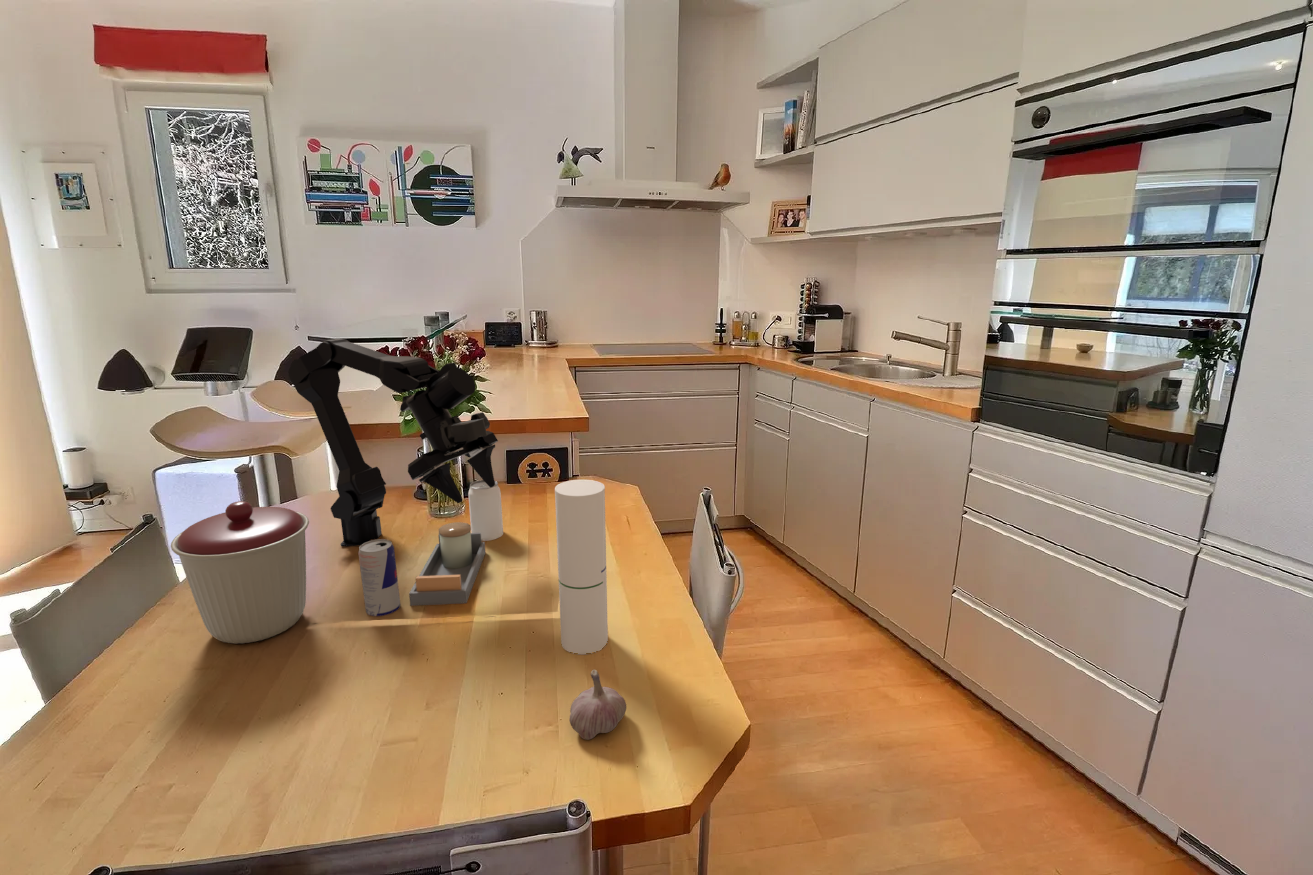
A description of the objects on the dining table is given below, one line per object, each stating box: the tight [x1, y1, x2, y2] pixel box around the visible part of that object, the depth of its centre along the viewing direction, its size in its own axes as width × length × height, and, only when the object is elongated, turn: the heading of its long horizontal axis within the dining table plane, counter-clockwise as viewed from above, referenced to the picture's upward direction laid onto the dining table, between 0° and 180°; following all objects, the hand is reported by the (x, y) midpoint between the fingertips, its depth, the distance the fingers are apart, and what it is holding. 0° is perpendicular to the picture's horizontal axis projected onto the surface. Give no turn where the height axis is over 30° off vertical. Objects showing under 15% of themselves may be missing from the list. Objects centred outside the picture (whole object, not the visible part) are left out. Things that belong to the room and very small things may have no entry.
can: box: [467, 479, 504, 542], centre depth 137 cm, size 6×6×12 cm
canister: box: [170, 500, 310, 645], centre depth 103 cm, size 18×18×21 cm
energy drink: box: [357, 538, 401, 620], centre depth 108 cm, size 5×5×12 cm
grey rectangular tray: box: [408, 533, 486, 607], centre depth 120 cm, size 9×20×5 cm, turn 5°
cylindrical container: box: [554, 479, 609, 655], centre depth 98 cm, size 7×7×25 cm
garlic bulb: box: [569, 669, 627, 741], centre depth 82 cm, size 8×7×8 cm
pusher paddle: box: [415, 575, 462, 592], centre depth 111 cm, size 7×1×4 cm, turn 95°
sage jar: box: [438, 521, 473, 569], centre depth 125 cm, size 6×6×7 cm
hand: (477, 494), depth 122 cm, fingers open, 9 cm apart
